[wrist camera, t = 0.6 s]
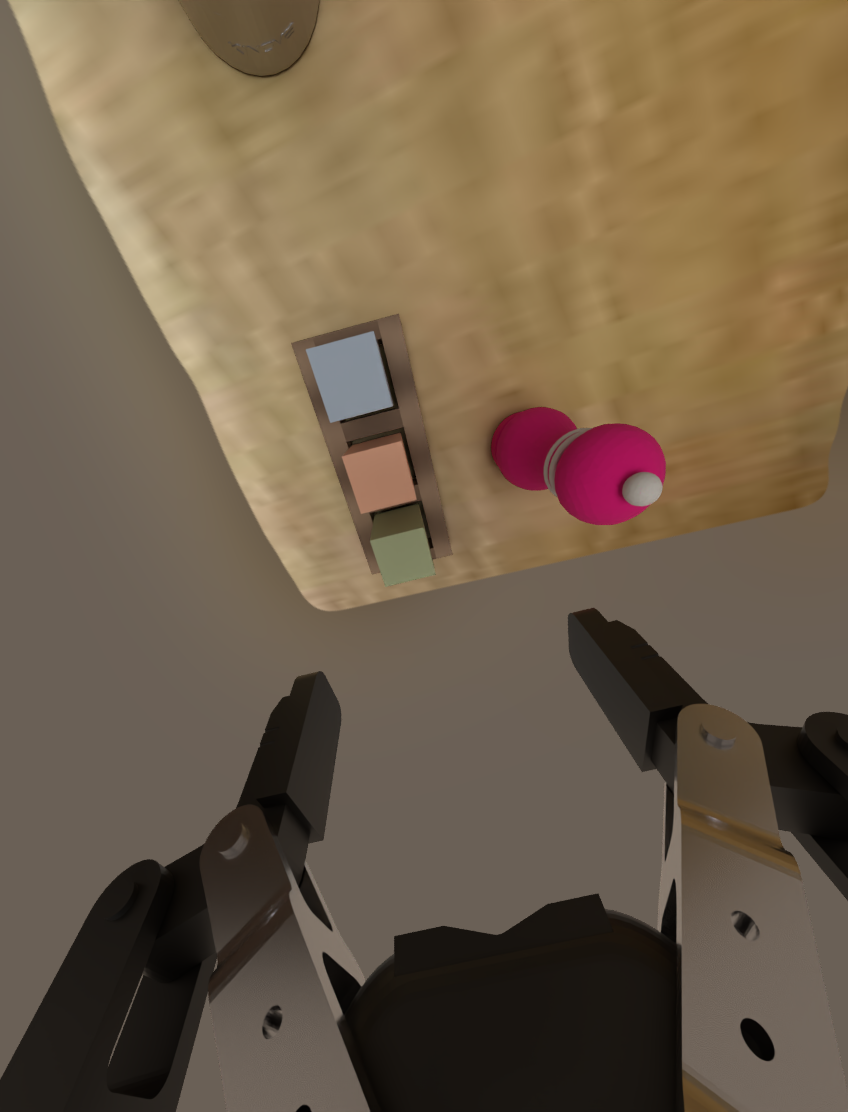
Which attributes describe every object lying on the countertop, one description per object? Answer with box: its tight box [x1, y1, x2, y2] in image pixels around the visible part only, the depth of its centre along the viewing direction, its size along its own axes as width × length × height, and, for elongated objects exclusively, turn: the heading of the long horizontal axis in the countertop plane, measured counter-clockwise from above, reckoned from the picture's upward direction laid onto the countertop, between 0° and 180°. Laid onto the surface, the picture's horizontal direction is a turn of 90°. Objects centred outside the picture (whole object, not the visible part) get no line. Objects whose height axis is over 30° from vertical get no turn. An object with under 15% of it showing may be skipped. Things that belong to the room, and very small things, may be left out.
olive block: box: [370, 503, 436, 587], centre depth 32 cm, size 5×5×7 cm
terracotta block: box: [342, 432, 417, 514], centre depth 29 cm, size 5×5×7 cm
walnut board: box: [291, 314, 453, 574], centre depth 33 cm, size 22×9×3 cm, turn 13°
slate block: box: [306, 331, 394, 423], centre depth 26 cm, size 5×5×7 cm
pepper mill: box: [491, 407, 666, 525], centre depth 26 cm, size 7×7×20 cm
